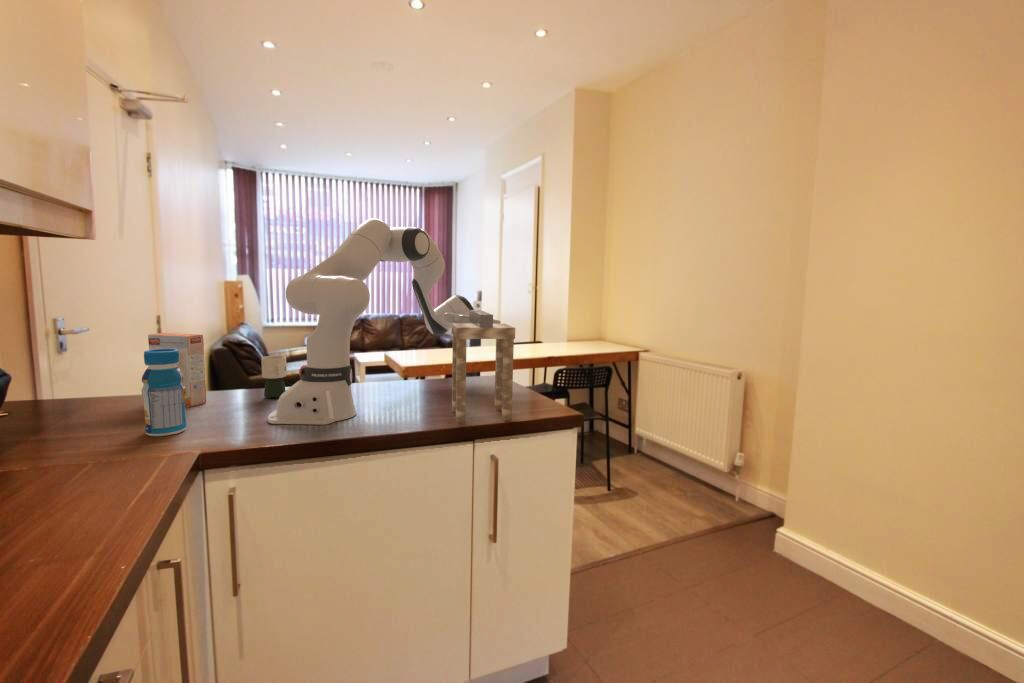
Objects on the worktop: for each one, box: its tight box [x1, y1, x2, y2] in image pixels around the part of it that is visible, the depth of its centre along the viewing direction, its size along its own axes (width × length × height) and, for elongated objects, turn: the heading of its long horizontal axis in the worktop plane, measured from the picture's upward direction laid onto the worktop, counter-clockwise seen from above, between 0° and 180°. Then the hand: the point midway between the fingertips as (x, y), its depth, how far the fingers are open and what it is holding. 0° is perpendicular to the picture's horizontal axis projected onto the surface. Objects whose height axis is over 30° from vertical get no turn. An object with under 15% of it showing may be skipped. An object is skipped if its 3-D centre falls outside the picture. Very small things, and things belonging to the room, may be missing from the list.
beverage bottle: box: [141, 349, 187, 437], centre depth 114 cm, size 8×8×20 cm
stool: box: [451, 323, 516, 424], centre depth 135 cm, size 16×14×26 cm
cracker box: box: [147, 332, 207, 408], centre depth 140 cm, size 14×6×21 cm, turn 77°
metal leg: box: [469, 309, 494, 328], centre depth 138 cm, size 4×22×4 cm, turn 13°
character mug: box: [260, 355, 288, 399], centre depth 151 cm, size 11×7×13 cm, turn 44°
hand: (473, 319), depth 162 cm, fingers open, 8 cm apart
